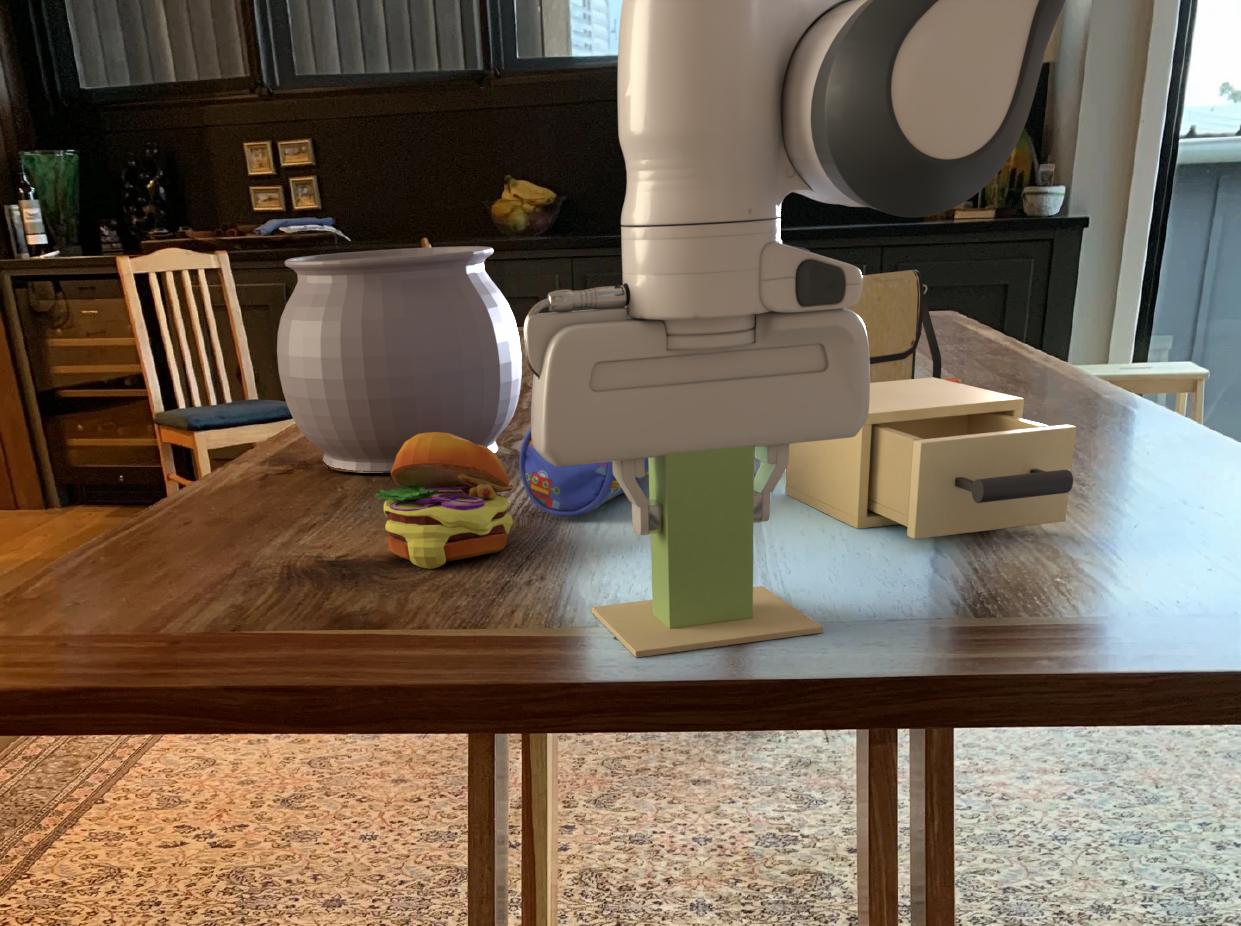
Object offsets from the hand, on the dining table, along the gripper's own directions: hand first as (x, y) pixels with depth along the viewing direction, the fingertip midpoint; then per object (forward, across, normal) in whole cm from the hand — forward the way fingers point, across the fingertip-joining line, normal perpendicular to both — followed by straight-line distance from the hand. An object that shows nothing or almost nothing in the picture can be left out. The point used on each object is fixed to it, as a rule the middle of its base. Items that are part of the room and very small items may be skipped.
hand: (701, 526), depth 80 cm
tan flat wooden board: (+6, 0, 0) cm, 6 cm away
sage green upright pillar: (+6, 0, 0) cm, 6 cm away
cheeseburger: (+6, -12, +26) cm, 29 cm away
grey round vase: (+6, -9, +67) cm, 68 cm away
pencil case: (+6, +5, +40) cm, 40 cm away
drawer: (+5, +26, +15) cm, 30 cm away
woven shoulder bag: (+6, +36, +60) cm, 70 cm away
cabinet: (+6, +26, +25) cm, 37 cm away
